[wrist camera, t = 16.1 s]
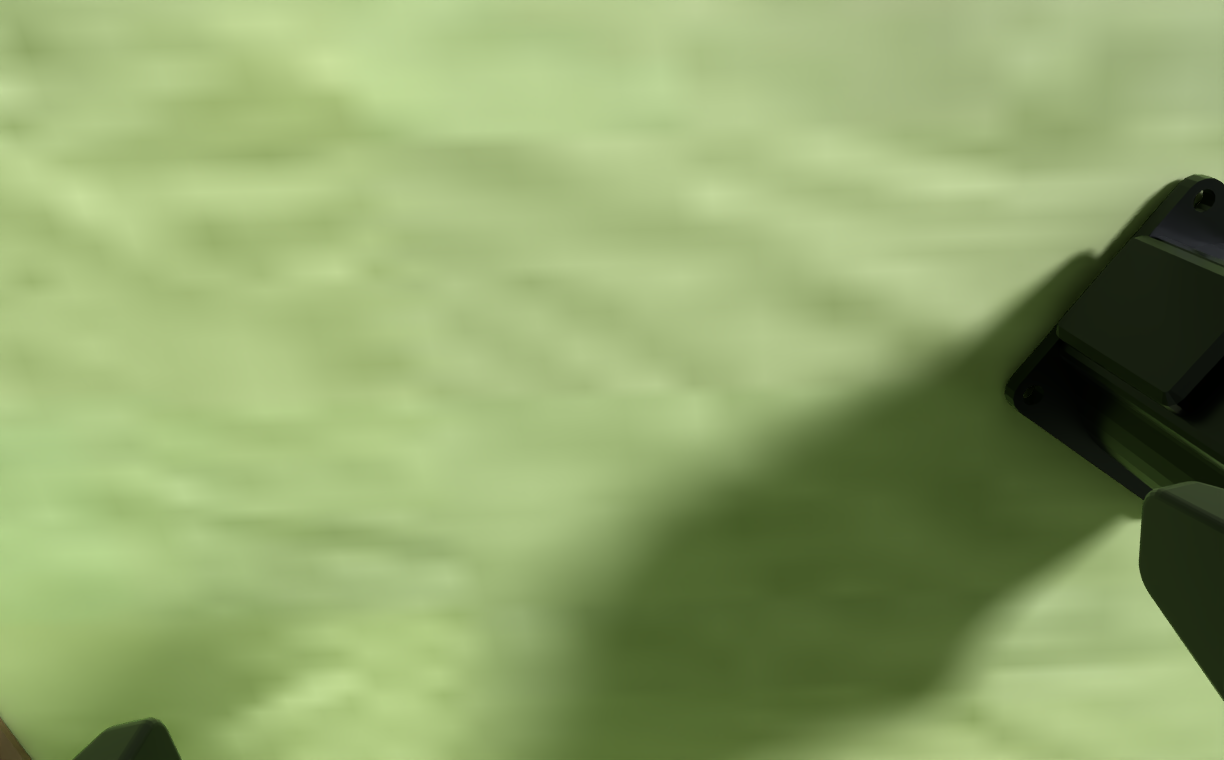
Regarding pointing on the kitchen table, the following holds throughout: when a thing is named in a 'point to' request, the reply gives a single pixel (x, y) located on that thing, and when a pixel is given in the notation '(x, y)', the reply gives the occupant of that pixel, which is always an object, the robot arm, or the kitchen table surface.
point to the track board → (10, 745)
